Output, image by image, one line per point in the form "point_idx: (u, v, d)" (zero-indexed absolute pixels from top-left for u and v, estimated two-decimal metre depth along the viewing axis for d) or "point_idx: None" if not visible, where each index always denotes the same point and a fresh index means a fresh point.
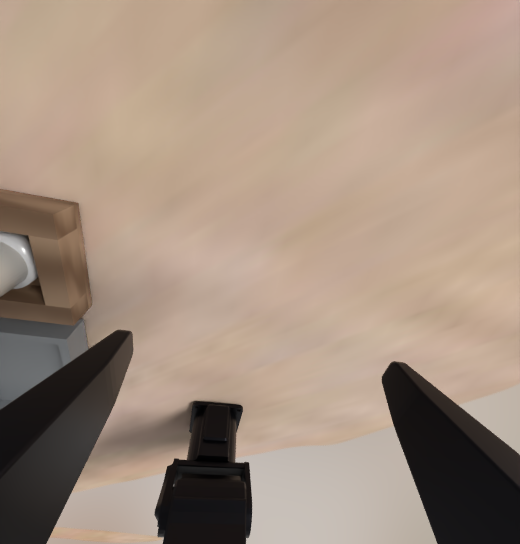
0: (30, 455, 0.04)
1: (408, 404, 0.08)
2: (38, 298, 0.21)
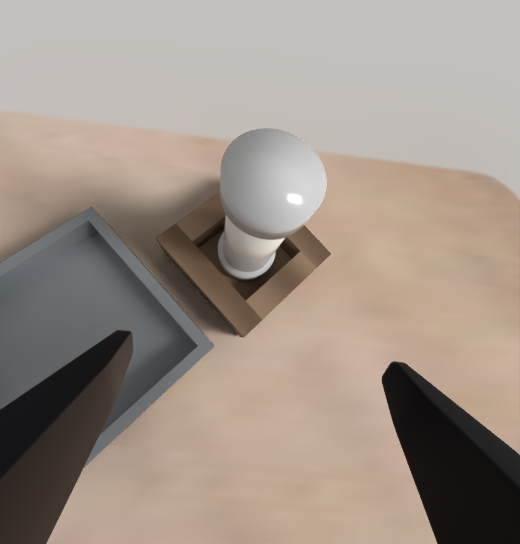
0: (30, 455, 0.04)
1: (408, 404, 0.08)
2: None
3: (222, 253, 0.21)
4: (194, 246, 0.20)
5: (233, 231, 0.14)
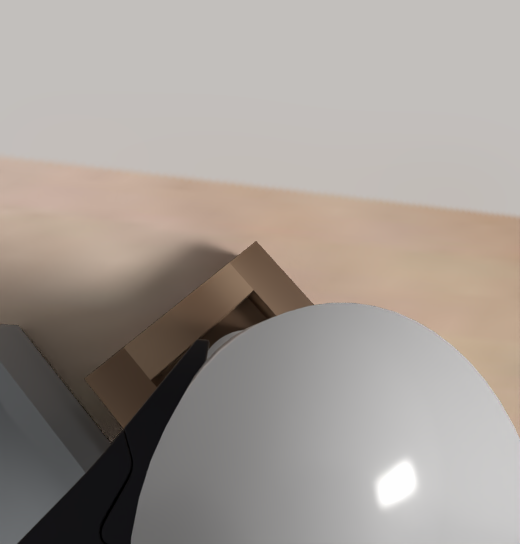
0: None
1: None
2: None
3: None
4: (154, 390, 0.11)
5: None
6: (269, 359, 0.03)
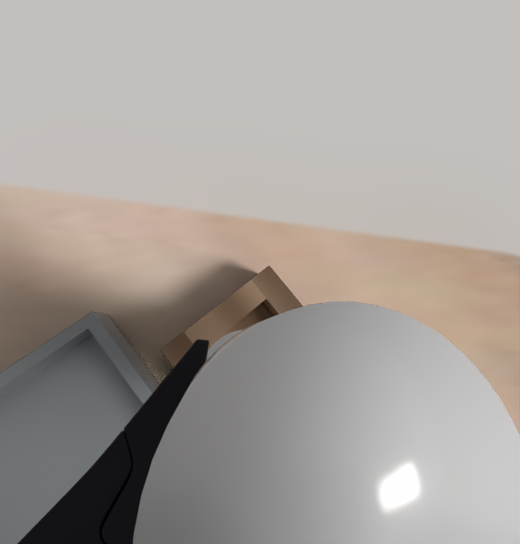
0: None
1: None
2: None
3: None
4: None
5: None
6: (271, 358, 0.03)
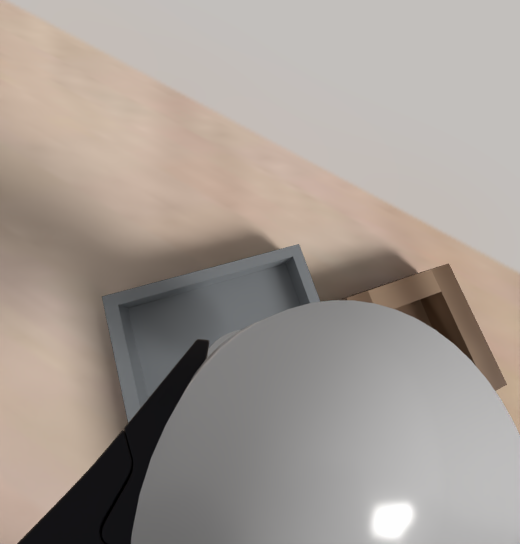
0: None
1: None
2: None
3: None
4: None
5: None
6: (270, 356, 0.03)
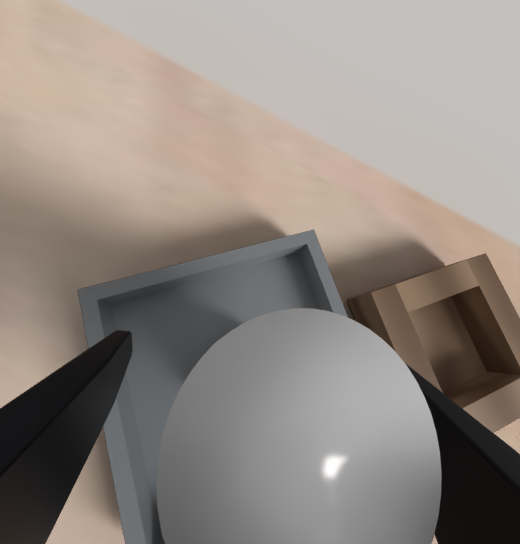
0: (29, 455, 0.04)
1: None
2: None
3: None
4: (409, 319, 0.16)
5: None
6: (249, 347, 0.04)
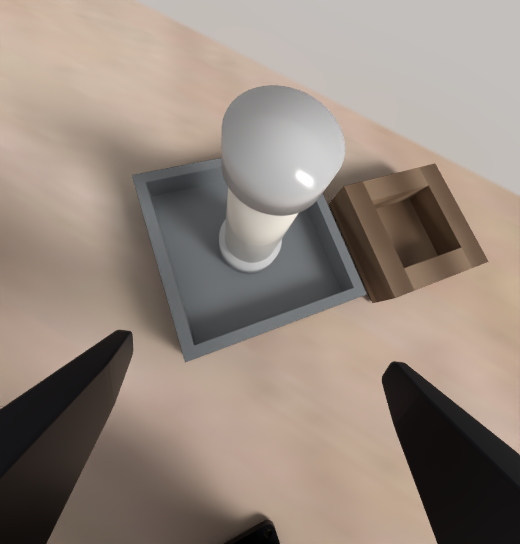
0: (30, 455, 0.04)
1: (408, 404, 0.08)
2: None
3: (224, 242, 0.19)
4: (372, 205, 0.21)
5: (236, 210, 0.13)
6: (257, 96, 0.10)
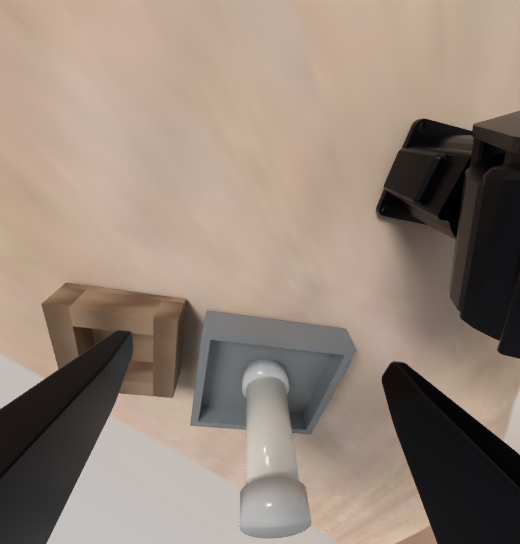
0: (30, 455, 0.04)
1: (408, 404, 0.08)
2: None
3: None
4: (154, 380, 0.24)
5: (295, 458, 0.20)
6: (275, 536, 0.18)
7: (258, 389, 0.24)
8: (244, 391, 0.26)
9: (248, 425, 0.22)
